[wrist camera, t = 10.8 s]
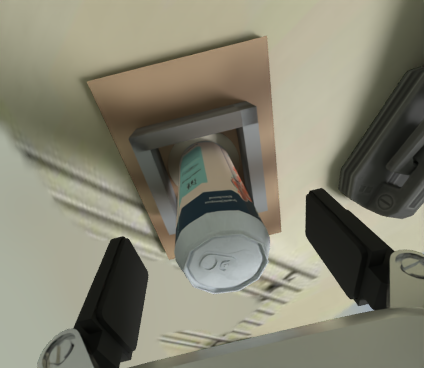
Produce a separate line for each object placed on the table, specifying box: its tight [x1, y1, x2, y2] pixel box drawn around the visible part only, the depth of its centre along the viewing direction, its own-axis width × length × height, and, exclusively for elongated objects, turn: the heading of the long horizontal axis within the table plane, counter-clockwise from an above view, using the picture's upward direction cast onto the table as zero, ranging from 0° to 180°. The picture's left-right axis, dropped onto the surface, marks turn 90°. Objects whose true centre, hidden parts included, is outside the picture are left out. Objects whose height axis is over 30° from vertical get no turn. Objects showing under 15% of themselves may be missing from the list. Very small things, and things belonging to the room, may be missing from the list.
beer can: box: [174, 141, 270, 294], centre depth 15 cm, size 5×5×12 cm
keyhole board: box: [87, 36, 281, 260], centre depth 20 cm, size 20×14×4 cm
